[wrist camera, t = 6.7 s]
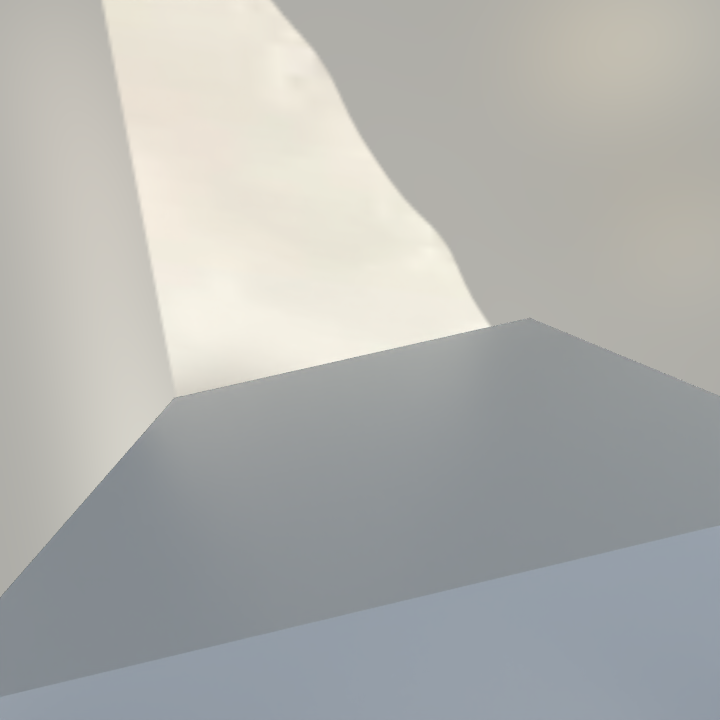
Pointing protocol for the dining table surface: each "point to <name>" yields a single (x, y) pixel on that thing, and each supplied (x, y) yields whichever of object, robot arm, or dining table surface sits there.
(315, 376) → the slate blue cube
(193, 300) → the dining table surface
